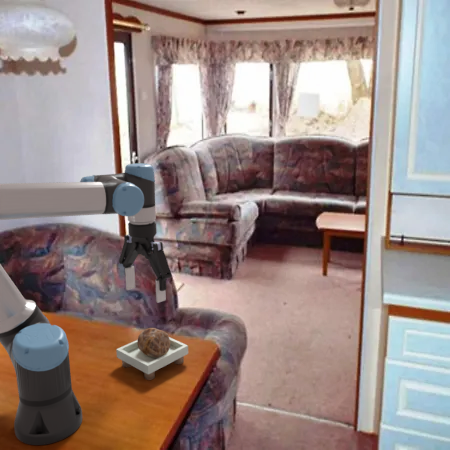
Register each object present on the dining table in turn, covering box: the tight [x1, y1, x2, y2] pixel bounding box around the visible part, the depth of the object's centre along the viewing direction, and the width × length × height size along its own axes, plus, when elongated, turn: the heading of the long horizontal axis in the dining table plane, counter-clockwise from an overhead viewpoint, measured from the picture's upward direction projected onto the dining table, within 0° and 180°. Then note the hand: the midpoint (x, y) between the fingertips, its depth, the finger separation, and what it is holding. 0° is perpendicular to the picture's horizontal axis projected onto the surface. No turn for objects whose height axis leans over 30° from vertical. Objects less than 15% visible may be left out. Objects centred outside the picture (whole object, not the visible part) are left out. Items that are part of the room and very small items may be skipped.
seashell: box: [137, 327, 170, 358], centre depth 144 cm, size 10×9×10 cm
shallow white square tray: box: [115, 336, 189, 381], centre depth 145 cm, size 15×14×5 cm
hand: (145, 294), depth 141 cm, fingers open, 13 cm apart
